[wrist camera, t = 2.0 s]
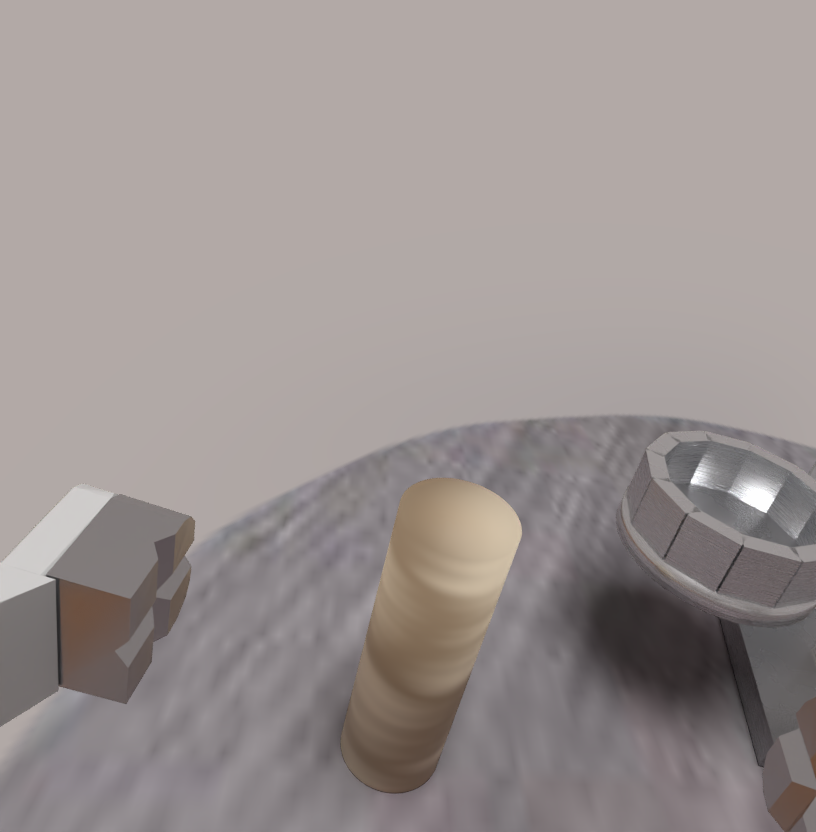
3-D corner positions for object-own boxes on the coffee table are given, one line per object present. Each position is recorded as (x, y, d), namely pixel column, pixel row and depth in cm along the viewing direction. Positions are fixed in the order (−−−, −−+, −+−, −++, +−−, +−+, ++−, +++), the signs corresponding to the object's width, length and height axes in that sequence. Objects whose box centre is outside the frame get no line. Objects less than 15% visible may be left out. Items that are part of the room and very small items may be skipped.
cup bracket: (895, 653, 41) (1013, 504, 36) (985, 828, 33) (1158, 668, 27) (566, 564, 42) (633, 405, 37) (569, 713, 33) (658, 534, 28)
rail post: (444, 717, 32) (523, 496, 26) (431, 805, 28) (519, 574, 22) (353, 692, 32) (410, 466, 26) (329, 776, 29) (388, 539, 22)
